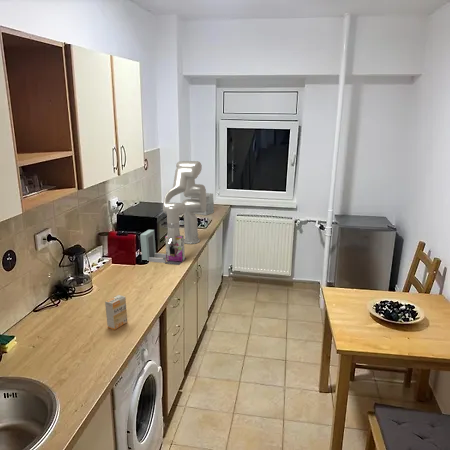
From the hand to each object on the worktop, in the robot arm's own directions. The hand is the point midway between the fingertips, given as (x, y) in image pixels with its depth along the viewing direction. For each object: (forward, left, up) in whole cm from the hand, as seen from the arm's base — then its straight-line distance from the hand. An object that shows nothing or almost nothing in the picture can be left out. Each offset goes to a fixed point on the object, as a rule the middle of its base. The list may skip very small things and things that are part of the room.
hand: (174, 251), depth 263 cm
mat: (0, 0, -6) cm, 6 cm away
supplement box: (+82, +6, -7) cm, 82 cm away
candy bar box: (0, 0, -6) cm, 6 cm away
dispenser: (0, -13, -6) cm, 14 cm away
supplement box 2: (-123, -24, -7) cm, 125 cm away
